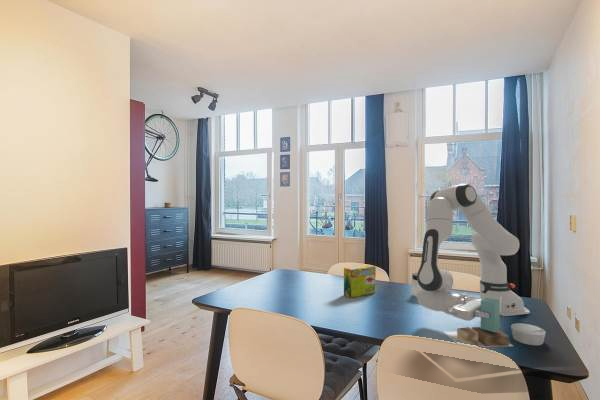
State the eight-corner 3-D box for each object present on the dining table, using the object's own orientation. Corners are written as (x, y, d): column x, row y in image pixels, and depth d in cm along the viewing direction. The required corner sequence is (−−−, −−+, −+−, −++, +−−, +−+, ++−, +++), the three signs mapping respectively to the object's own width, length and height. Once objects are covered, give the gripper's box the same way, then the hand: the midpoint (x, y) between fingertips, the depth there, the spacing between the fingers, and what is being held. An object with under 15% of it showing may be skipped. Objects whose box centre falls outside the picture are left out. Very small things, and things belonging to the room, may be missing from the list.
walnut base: (494, 335, 135) (494, 326, 135) (509, 345, 126) (509, 336, 126) (472, 336, 135) (472, 327, 135) (485, 346, 126) (485, 336, 126)
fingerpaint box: (367, 290, 203) (367, 263, 203) (375, 292, 197) (375, 265, 197) (342, 295, 193) (342, 267, 193) (350, 298, 187) (350, 269, 187)
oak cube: (468, 340, 131) (468, 327, 131) (477, 345, 126) (477, 332, 126) (457, 341, 130) (457, 328, 130) (466, 347, 125) (466, 333, 125)
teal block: (485, 325, 134) (485, 297, 134) (499, 328, 130) (499, 300, 130) (480, 328, 131) (480, 300, 131) (494, 332, 127) (495, 303, 127)
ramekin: (543, 351, 123) (543, 337, 123) (508, 342, 131) (508, 329, 131) (547, 341, 132) (547, 328, 132) (513, 333, 139) (513, 320, 139)
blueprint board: (491, 332, 140) (491, 330, 140) (513, 348, 126) (513, 346, 126) (443, 333, 139) (443, 331, 139) (461, 349, 125) (461, 347, 125)
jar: (413, 297, 188) (413, 276, 187) (409, 293, 196) (409, 272, 196) (430, 297, 187) (430, 276, 187) (425, 293, 195) (425, 272, 195)
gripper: (444, 302, 133) (482, 311, 123) (466, 292, 147) (501, 299, 137) (444, 318, 133) (482, 329, 123) (465, 307, 147) (501, 315, 137)
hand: (492, 313), depth 130 cm, fingers closed on teal block, 5 cm apart
